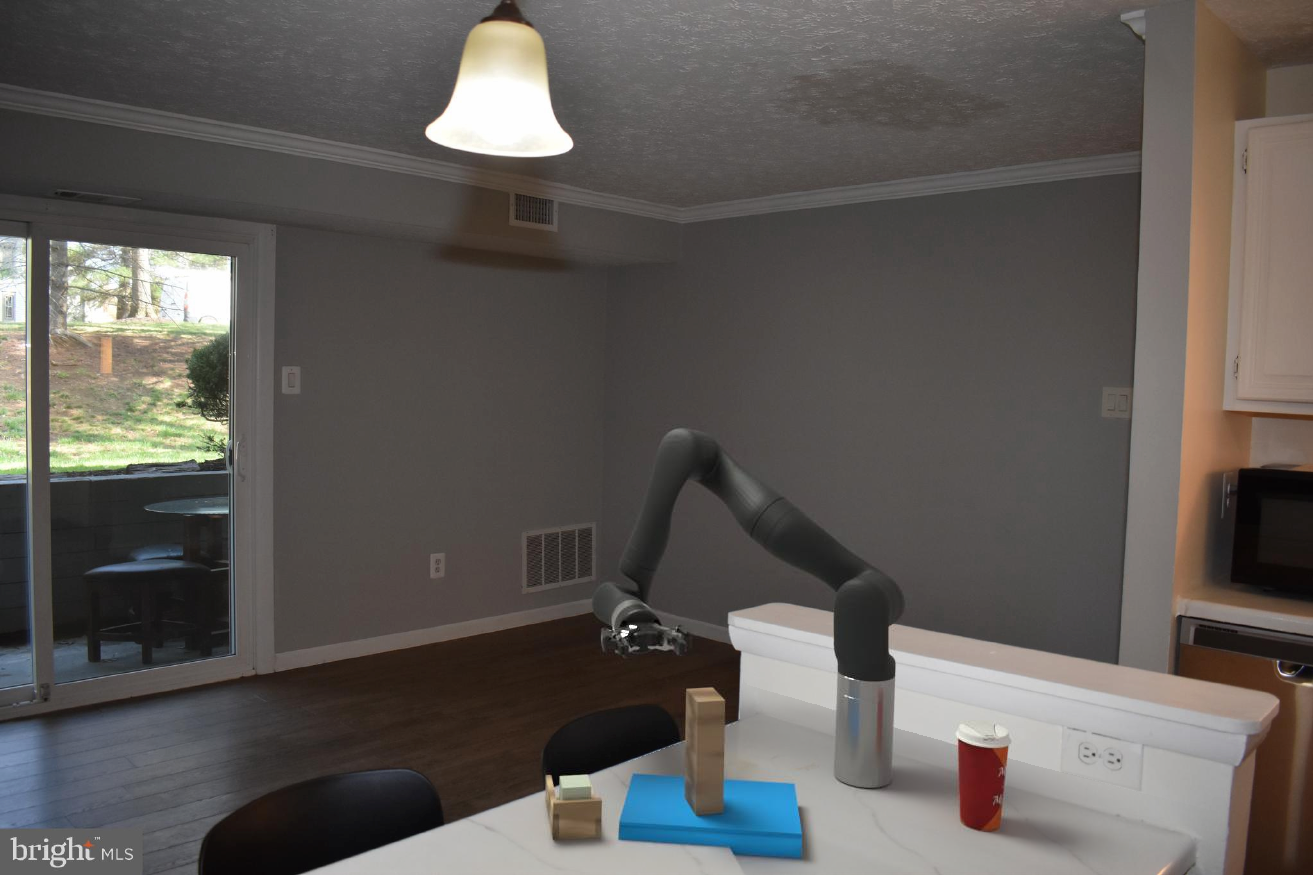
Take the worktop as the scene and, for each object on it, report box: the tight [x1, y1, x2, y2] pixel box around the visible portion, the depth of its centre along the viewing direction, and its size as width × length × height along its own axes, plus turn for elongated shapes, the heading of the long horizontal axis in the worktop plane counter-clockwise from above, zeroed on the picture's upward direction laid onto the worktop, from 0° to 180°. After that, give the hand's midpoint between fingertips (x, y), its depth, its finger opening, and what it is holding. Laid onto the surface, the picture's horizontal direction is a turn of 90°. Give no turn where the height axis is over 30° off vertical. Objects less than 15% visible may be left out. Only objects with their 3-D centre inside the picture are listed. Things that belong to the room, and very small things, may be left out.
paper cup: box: [955, 720, 1012, 832], centre depth 135 cm, size 8×8×14 cm
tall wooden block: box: [684, 687, 726, 816], centre depth 131 cm, size 6×4×16 cm, turn 13°
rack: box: [544, 774, 603, 841], centre depth 132 cm, size 13×7×6 cm, turn 11°
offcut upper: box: [558, 774, 592, 800], centre depth 129 cm, size 4×4×3 cm
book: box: [617, 772, 803, 859], centre depth 133 cm, size 17×4×25 cm
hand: (654, 650), depth 142 cm, fingers open, 8 cm apart
